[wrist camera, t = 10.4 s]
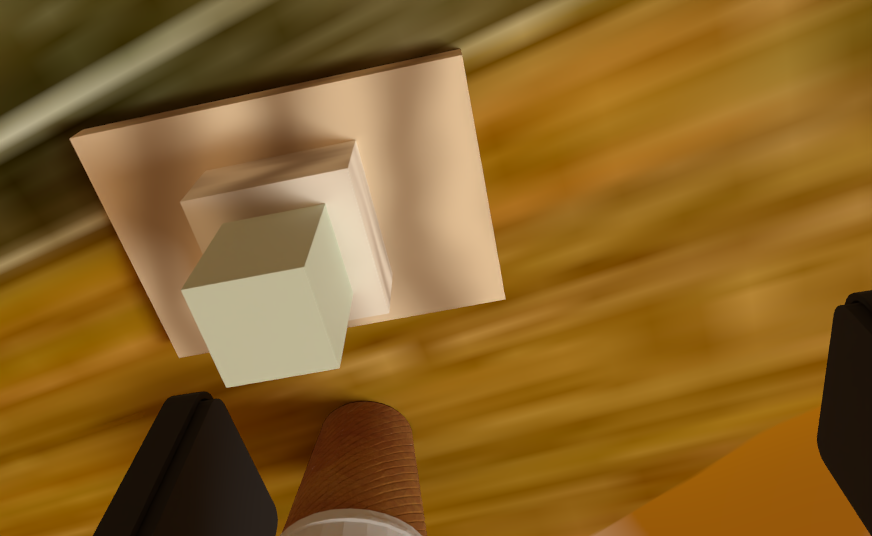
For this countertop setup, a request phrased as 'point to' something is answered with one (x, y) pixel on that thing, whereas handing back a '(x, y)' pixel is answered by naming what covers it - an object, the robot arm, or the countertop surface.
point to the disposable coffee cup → (360, 477)
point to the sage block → (272, 296)
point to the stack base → (295, 119)
